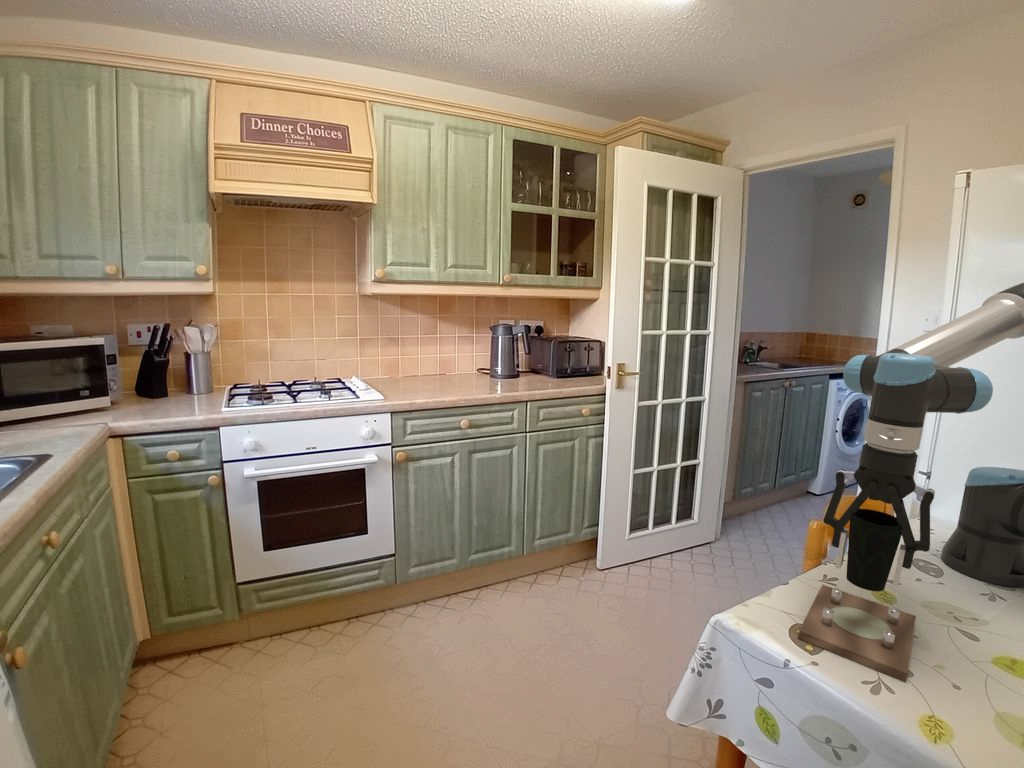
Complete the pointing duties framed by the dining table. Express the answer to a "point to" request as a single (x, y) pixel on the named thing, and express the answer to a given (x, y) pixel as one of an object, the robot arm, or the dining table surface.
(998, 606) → the dining table surface
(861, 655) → the stub board
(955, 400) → the robot arm
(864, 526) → the cup
